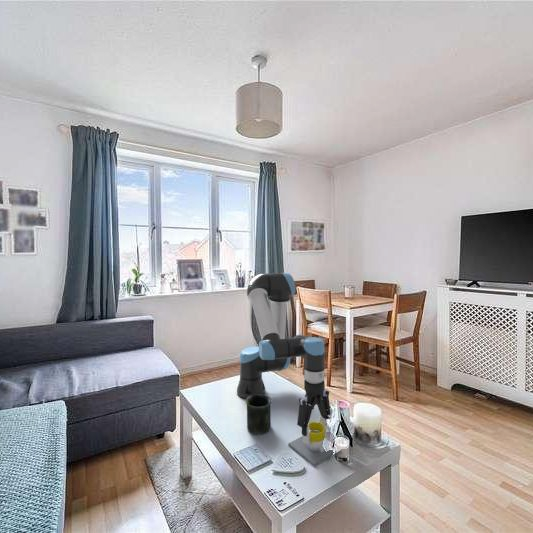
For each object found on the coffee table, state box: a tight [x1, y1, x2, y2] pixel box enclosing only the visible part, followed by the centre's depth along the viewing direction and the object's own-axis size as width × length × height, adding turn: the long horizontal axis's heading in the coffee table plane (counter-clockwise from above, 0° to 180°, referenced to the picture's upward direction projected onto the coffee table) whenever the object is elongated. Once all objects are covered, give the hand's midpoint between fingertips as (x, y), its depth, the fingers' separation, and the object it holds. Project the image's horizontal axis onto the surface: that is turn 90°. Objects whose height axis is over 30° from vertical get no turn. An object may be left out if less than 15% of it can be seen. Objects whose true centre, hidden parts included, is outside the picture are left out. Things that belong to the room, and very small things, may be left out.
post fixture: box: [287, 430, 334, 468], centre depth 113 cm, size 14×14×5 cm
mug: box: [245, 394, 272, 435], centre depth 128 cm, size 11×15×12 cm
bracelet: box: [308, 421, 326, 442], centre depth 112 cm, size 7×8×3 cm
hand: (314, 438), depth 112 cm, fingers closed on bracelet, 8 cm apart
